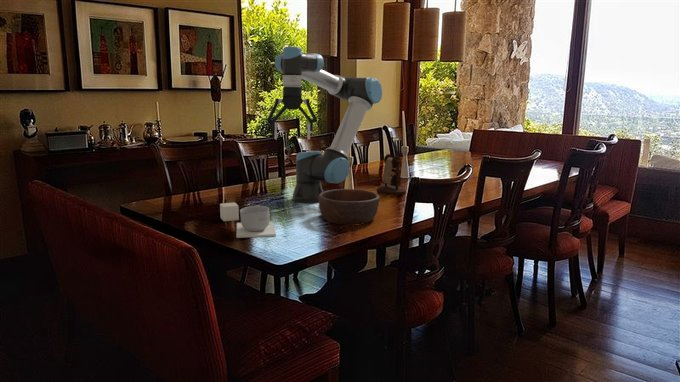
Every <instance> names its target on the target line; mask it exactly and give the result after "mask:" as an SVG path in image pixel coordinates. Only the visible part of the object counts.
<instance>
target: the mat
mask: <svg viewBox="0 0 680 382" xmlns="http://www.w3.org/2000/svg"><path fill="white" fill-rule="evenodd" d="M263 237H264V238H265V237H269V238H270V237H277V233H276V228H275V223H274V221H269V225H268V226H267V227H266V228H265V229H264V230H261V231H248V230H246V229H245V228H244V227H243V226H242V223H241V222H236V238H237V239H239V238H263Z"/></svg>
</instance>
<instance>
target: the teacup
mask: <svg viewBox="0 0 680 382" xmlns="http://www.w3.org/2000/svg"><path fill="white" fill-rule="evenodd" d="M239 215H240V216H239V217H240V223H242V226H243V227H244V228H245V229H246V230H248V231H261V230H264V229H265V228H266V227H267V226H268V225H269V222H271V220H270V219H271V217H270V216H271V215H270V207H269V206H267V205H260V204H256V205H251V206H246V207H243V208H241V209H239Z"/></svg>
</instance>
